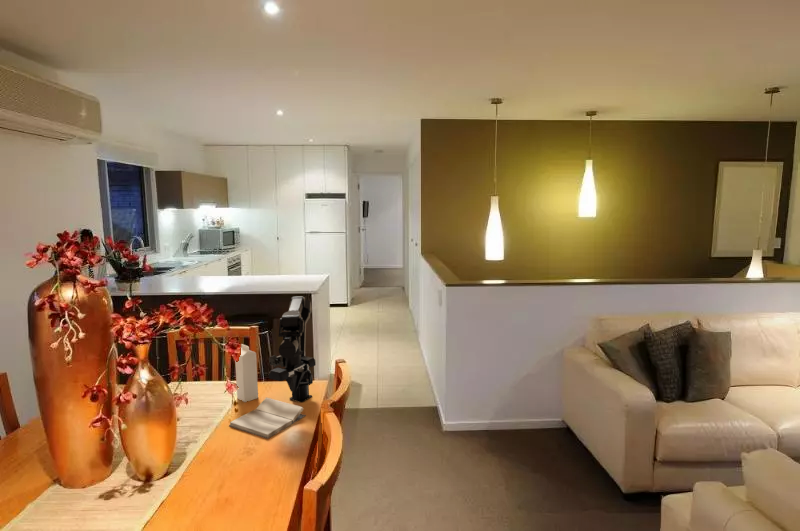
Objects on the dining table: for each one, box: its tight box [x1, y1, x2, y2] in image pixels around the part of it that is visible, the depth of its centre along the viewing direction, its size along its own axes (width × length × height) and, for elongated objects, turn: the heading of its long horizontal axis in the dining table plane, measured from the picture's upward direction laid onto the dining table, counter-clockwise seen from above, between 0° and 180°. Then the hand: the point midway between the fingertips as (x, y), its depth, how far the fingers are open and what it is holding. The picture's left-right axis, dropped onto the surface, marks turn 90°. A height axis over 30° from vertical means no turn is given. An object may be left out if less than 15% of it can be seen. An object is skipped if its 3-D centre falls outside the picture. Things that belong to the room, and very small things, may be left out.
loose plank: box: [255, 397, 304, 422], centre depth 169 cm, size 6×18×1 cm, turn 61°
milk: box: [234, 343, 259, 403], centre depth 182 cm, size 6×6×22 cm
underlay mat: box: [228, 413, 306, 439], centre depth 164 cm, size 19×18×1 cm
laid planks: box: [229, 409, 293, 439], centre depth 161 cm, size 12×18×1 cm, turn 61°
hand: (293, 390), depth 166 cm, fingers closed
